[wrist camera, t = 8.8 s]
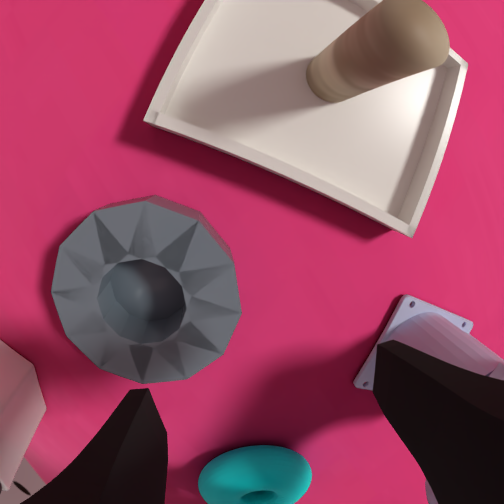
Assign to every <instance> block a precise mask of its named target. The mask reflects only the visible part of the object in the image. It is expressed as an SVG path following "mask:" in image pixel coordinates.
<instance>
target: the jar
mask: <svg viewBox="0 0 504 504" xmlns="http://www.w3.org/2000/svg"><path fill="white" fill-rule="evenodd" d="M46 409H47V408H46V404H45V401H44V398H43V395H42V392H41V389H40V385H39V382H38V378H37V375H36V371H35V367H34V365H33V364H32V363H31V362H29V361H28V360H27V359H25V358H24V357H22V356H21V355H20V354H18V353H17V352H16V351H14V350H13V349H12V348H10V347H9V346H8V345H7V344H5V343H4V342H3V341H2V340H0V493H1V491H8V490H9V488H10V486H11V484H12V482H13V479H14V477H15V474H16V472H17V470H18V468H19V465H20V463H21V461H22V458H23V456H24V454H25V452H26V450H27V448H28V446H29V444H30V442H31V439H32V437H33V435H34V433H35V431H36V429H37V427H38V425H39V423H40V421H41V419H42V417H43V415H44V413H45V411H46Z"/></svg>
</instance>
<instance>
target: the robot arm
mask: <svg viewBox="0 0 504 504" xmlns="http://www.w3.org/2000/svg"><path fill="white" fill-rule="evenodd" d="M411 302H412V304H411V305H410V303H411ZM472 327H473V322H472V321H470V320H468V319H465V318H463V317H461V316H458V315H456V314H454V313H451V312H449V311H447V310H444V309H442V308H439V307H437V306H435V305H432V304H430V303H427V302H425V301H423V300H420V299H418V298H415V297H413V296H411V295H408V294H406V295H404V296H402V297H401V299H400V301H399V303H398V305H397V307H396V308H395V310H394V312H393V314H392V316H391V318H390V320H389V322H388V323H387V325H386V327H385V329H384V331H383V333H382V334H381V336H380V338H379V340H378V341H377V343H376V345H375V347H374V348H373V350H372V352H371V353H370V355H369V357H368V358H367V360H366V362H365V363H364V365H363V367H362V368H361V370H360V371H359V373H358V375H357V376H356V378H355V379H354V382H353V384H354V385H355V387H356V388H360V389H366V390H373V393H374V395H375V398H376V400H377V402H378V404H379V406H380V408H381V410H382V411H383V413H384V415H385V417H386V418H387V420H388V421H389V422H390V424H391V425H392V427H393V428H394V430H395V431H396V433H397V434H398V435H399V437H400V438H401V440H402V441H403V442H404V444H405V445H406V447H407V448H408V450H409V451H410V452H411V454H412V455H413V457H414V458H415V459H416V461H417V463H418V464H419V466H420V468H421V469H422V471H423V473H424V475H425V477H426V481H425V489H426V496H427V500H428V503H429V504H504V360H503V359H502V358H501V357H499V356H498V355H497V354H495V353H494V352H493V351H491V350H490V349H489V348H487V347H486V346H485V345H483V344H482V343H481V342H479V341H478V340H477V339H475V338H474V337H473V336H471V335H470V334H469V333H470V331H471V329H472ZM364 382H366V383H364ZM167 466H168V444H167V431H166V429H165V427H164V425H163V422H162V420H161V418H160V415H159V413H158V410H157V408H156V406H155V403H154V401H153V398H152V396H151V393H150V390H149V388H145V389H133V390H130V391H129V392H128V393H127V394H126V396H125V397H124V398H123V400H122V401H121V402H120V404H119V405H118V406H117V408H116V409H115V410H114V412H113V413H112V415H111V416H110V417H109V419H108V420H107V421H106V422H105V424H104V425H103V426H102V428H101V429H100V430H99V431H98V433H97V434H96V435H95V436H94V438H93V439H92V440H91V441H90V442H89V443H88V445H87V446H86V447H85V448H84V449H83V450H82V452H81V453H80V454H79V455H78V456H77V457H76V458H75V459H74V460H73V461H72V462H71V463H70V464H69V465H68V466H67V467H66V468H65V469H64V470H63V471H62V472H61V473H60V474H59V475H58V476H57V477H55V478H54V479H53V480H52V481H51V482H49V483H48V484H47V485H46V486H44V487H43V488H42V489H40V490H39V491H38V492H36V493H35V494H34V495H32V496H31V497H30V498H28V499H27V500H25V501H23V502H22V503H20V504H164V501H165V489H166V478H167Z"/></svg>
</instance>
